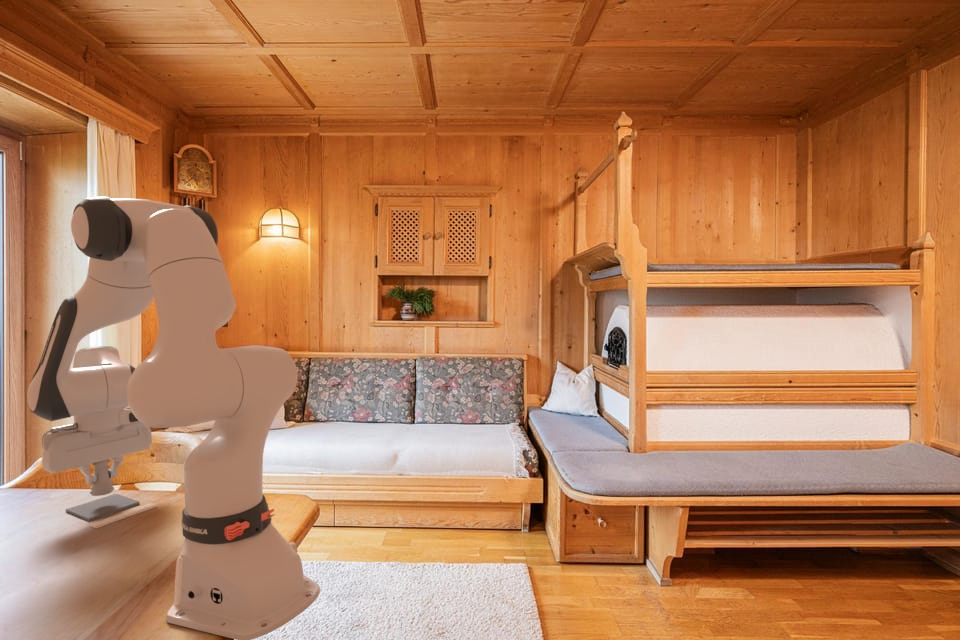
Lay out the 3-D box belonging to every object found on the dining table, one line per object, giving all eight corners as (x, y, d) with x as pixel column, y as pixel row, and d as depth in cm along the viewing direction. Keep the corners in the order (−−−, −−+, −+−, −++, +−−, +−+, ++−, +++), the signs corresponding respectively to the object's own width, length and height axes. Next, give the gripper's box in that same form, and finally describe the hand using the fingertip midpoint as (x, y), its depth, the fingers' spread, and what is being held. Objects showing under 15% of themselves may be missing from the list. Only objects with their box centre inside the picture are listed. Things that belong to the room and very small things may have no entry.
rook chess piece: (101, 497, 110) (99, 461, 110) (84, 495, 111) (82, 460, 111) (119, 489, 115) (118, 454, 114) (103, 488, 116) (101, 453, 115)
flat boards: (156, 506, 114) (156, 504, 114) (95, 528, 103) (95, 525, 103) (120, 494, 121) (120, 492, 121) (60, 513, 110) (60, 511, 110)
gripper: (48, 431, 102) (51, 499, 102) (154, 411, 119) (156, 468, 120) (34, 427, 105) (37, 493, 105) (139, 408, 122) (142, 464, 123)
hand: (102, 479), depth 113 cm, fingers closed on rook chess piece, 3 cm apart
